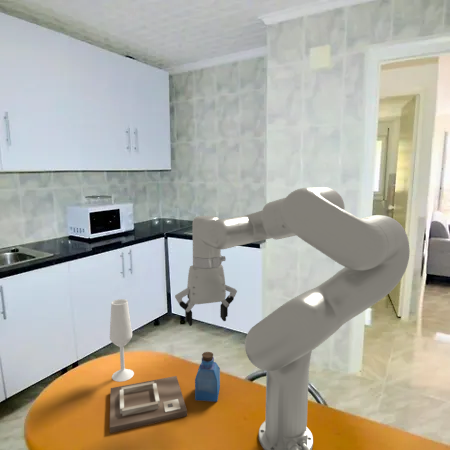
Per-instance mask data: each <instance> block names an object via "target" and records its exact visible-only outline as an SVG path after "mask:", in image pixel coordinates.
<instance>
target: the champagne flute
mask: <svg viewBox="0 0 450 450" xmlns="http://www.w3.org/2000/svg"><path fill="white" fill-rule="evenodd" d="M128 301H129V300H128V299H126V298H125V299H124V298H121V299H120V298H119V299H114V300H112V301H111V303H110V304H111V306H110V321H109V322H110V325H109V327H110V328H109V340H110V341H111V343H112V344H113V345H115V346H117V347H119V359H120V360H119V361H120V369H119V370H118V369H117V370H116V371H115V372H113V374H112V376H111V379H112V380H113V381H115V382H120V383H121V382H126V381H128V380H131V379H132V378H133V376H134V375H135V372H134V370H133V369H130V368H129V369H128V368H126V367H125V348H124V347H125V346H126V345H127V344H129V342H130V341H131V339H132V338H133V329H132V328H133V327H132V322H131V315H130V308H129V302H128Z"/></svg>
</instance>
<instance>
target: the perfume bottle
mask: <svg viewBox="0 0 450 450" xmlns="http://www.w3.org/2000/svg"><path fill="white" fill-rule="evenodd" d="M201 356H202V357H201V363H200V364H199V366H198V368H197V371H196V375H195V378H194V393H195V395H194V396H195V397H194V400H195V401H203V402H218V400H219V394H220V388H221V368H220V367H219V365H218V363H217V362H216V361H215V359H214V353H213V352H211V351H204V352H202V353H201Z"/></svg>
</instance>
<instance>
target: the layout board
mask: <svg viewBox="0 0 450 450" xmlns="http://www.w3.org/2000/svg"><path fill="white" fill-rule="evenodd" d="M179 383H180V382H179V380H178V377H177V375H175V376H170V377H169V376H168V377H163V378H158V379H151V380H148V381H147V380H146V381H141V382H136V383H131V384H125V385H120V386H115V387H110V396H109V397H110V399H109V401H110V402H109V403H110V404H109V407H110V408H109V434H112V433H116V432H121V431H126V430H130V429H133V428H134V429H135V428H139V427H143V426H144V427H145V426H148V425H152V424H156V423H161V422H166V421H170V420H174V419H179V418H184V417H188V409H187V406H186V403H185V399H184V396H183V393H182V390H181V387H180V384H179Z"/></svg>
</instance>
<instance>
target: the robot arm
mask: <svg viewBox="0 0 450 450" xmlns="http://www.w3.org/2000/svg"><path fill="white" fill-rule="evenodd" d="M295 236H296V237H297V238H300V239H301V240H302V241H304V242H305V243H307V245H310V246H312V247H313V248H314V249H316V250H318V251H319V252H320V253H321V254H323V255H325V256H326V257H328V258H330V259H331V260H332V261H333V262H336V263H337V264H339V265H341V266H342V267H343V268H341V269H340V270H339V271H338V272H336V273H335V274H334V275H333V276H331V277H330V278H328V279H327V280H326V281H324V282H322V283H321V284H319V285H317V286H315V287H314V288H311V289H309V290H306V291H304V292H302V293H300V294H299V295H297V296H295V297H294V298H291V299H290V300H288V301H286V302H285V303H283V304H282V305H280V306H279V307H277V308H276V309H275V310H273V311H272V312H270V314H268V315H267V316H265V317H263V319H261V320H260V321H259V322H257V323H256V324H254V326H252V327H251V328H250V329H249V330H248V331H247V334H246V337H245V340H244V341H245V343H244V348H245V353H246V356H247V358H248V360H249V361H250V363H251V364H252V365H253V366H255V367H256V368H258V369H260V370H262V371H265V372H266V377H265V378H266V380H265V381H266V382H265V383H266V385H265V387H266V388H265V420H264V421H263V422H262V423H261V425H260V427H259V429H258V441H259V443H260V445H261V448H262V449H263V450H313V446H314V436H313V433H312V432H311V430H310V429H309V428H308V427H307V425H308V406H309V405H308V402H309V401H308V400H309V379H310V364H311V358H312V352H313V350H316V348H318V347H319V346H321V345H322V344H324V342H325V341H327V340H328V339H329V338H330V337H332V336H333V335H334V334H335V333H336V332H337V331H338V330H340V328H341V327H342V326H343V325H344V324H346V323H348V322H349V321H350V320H352V319H354V318H355V317H357V316H359V315H360V314H362V313H364V312H365V311H366V310H368V309H369V308H371V307H372V306H374V305H375V304H377V303H378V302H380V301H382V299H384V298H385V297H386V296H388V294H390V293H391V292H392V291H393V290H394V289H395V288H396V287H397V285H398V284H400V282H401V280H402V278H403V277H404V276H405V272H406V270H407V268H408V265H409V260H410V243H409V238H408V234H407V233H406V231H405V228H404V227H403V226H402V224H401V223H400V222H398V221H397V220H396V219H395V218H393V217H390V216H387V215H381V214H374V215H369V216H368V215H367V216H365V217H358V216H355V215H354V214H353V213H351V212H348V211H347V210H345V203H344V199H343V198H342V196H341V195H340V193H338V191H336V190H335V189H332V188H330V187H326V186H318V187H317V186H315V187H313V186H312V187H311V186H310V187H301V188H298V189H295V190H293V191H291V192H290V193H289V194H288V195H287V196H286V197H283V198H280V199H279V198H278V199H277V200H273V201H272V200H271V201H269V202H267V203H266V204H264V206H263V208H262V210H259V211H256V212H253V213H249V214H244V215H241V216H233V217H225V218H219V217H217V216H214V215H199V216H195V217H194V218H193V219H192V265H189V269H188V273H187V274H188V275H187V276H188V277H187V287H186V288H185V289H183V290H181V291H179V292H178V293H177V294H174V295H175V296H174V298H175V299H176V301H177V304H179V306H180V307H181V308H182V309H184V311H185V312H184V313H185V314H184V315H185V317H184V318H185V319H184V320H185V323H187V324H188V325H189V326H188V327H191V326H193V312H192V308H194V306H195V305H203V304H206V305H207V304H212V303H220V309H219V313H220V315H219V317H220V319H221V320H222V321H223V322H226V321H227V317H228V316H229V315H228V312H229V309H228V308H229V307H230V304H231V303H232V302H233V301H234V298H235V297H236V295H237V293H238V290H237V289H236V288H234V287H232V286H230V285H227V284H226V279H225V272H224V271H225V270H224V267H223V265H222V262H226V256H224V255H223V256H222V255H221V254H222V253H221V250H227V249H231V248H235V247H239V246H243V245H247V244H251V243H256V242H259V241H260V242H261V241H265V240H269V239H273V240H275V241H276V240H283V239H287V238H290V237H295ZM226 292H229V295H228V296H227V297H226V294H227V293H226ZM184 297H186V298H187V301H186V302H185V301H183V298H184Z"/></svg>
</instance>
